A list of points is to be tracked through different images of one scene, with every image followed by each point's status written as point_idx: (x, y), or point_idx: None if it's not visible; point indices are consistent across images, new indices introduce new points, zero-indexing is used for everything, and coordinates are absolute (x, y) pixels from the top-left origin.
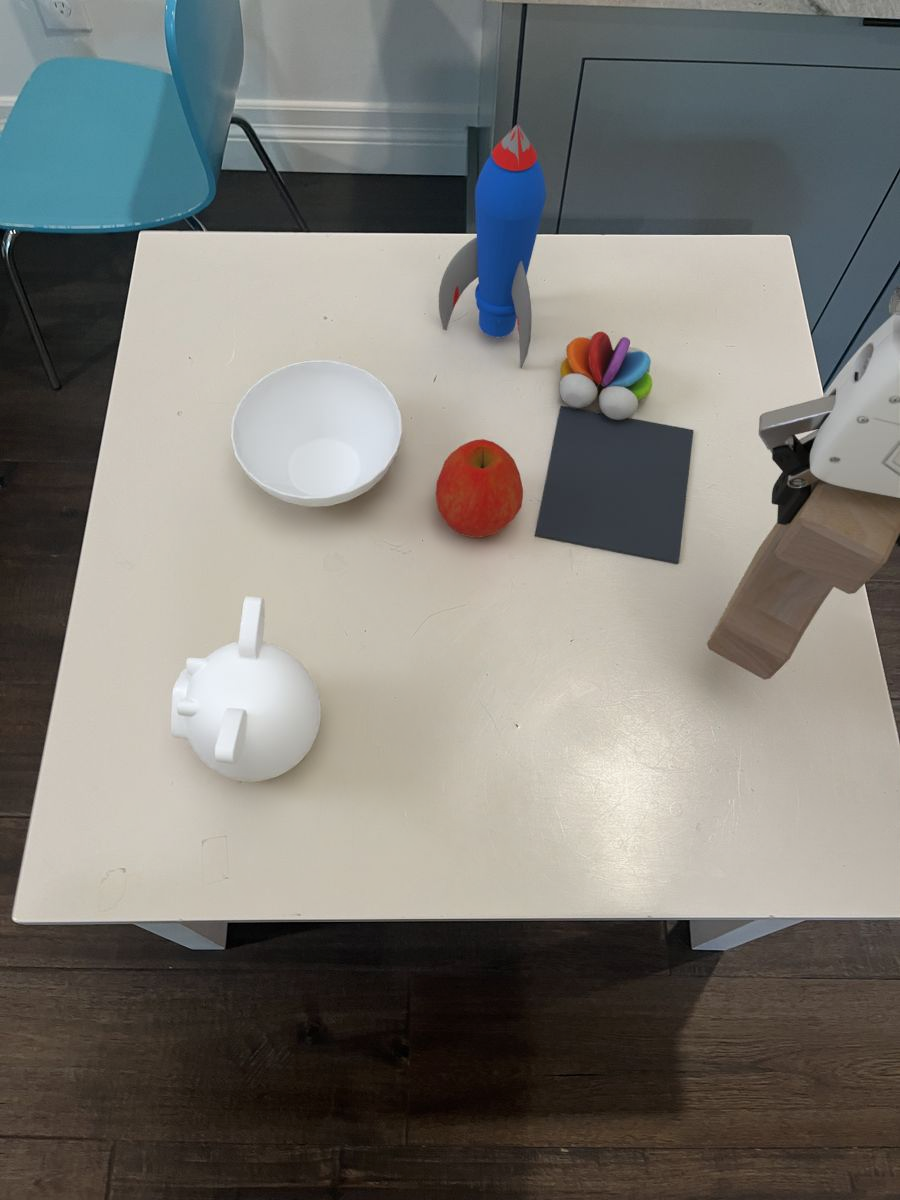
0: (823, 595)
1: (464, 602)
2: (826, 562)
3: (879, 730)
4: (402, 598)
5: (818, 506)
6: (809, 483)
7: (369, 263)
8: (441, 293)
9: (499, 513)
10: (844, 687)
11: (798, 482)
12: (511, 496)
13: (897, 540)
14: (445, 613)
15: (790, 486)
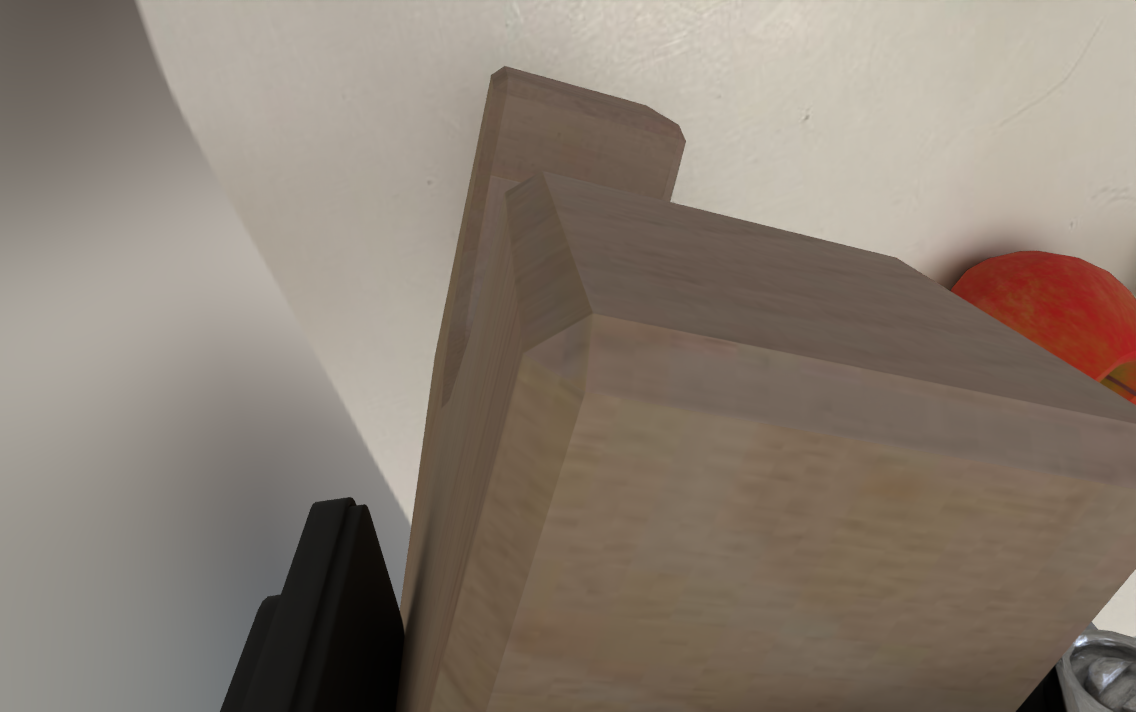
0: (469, 284)
1: (1002, 129)
2: (782, 268)
3: (203, 127)
4: (1113, 99)
5: (1084, 604)
6: (1076, 706)
7: (1125, 616)
8: (1090, 623)
9: (1029, 296)
10: (295, 195)
11: (1109, 681)
12: (1022, 334)
13: (364, 520)
14: (1037, 95)
15: (1115, 636)
